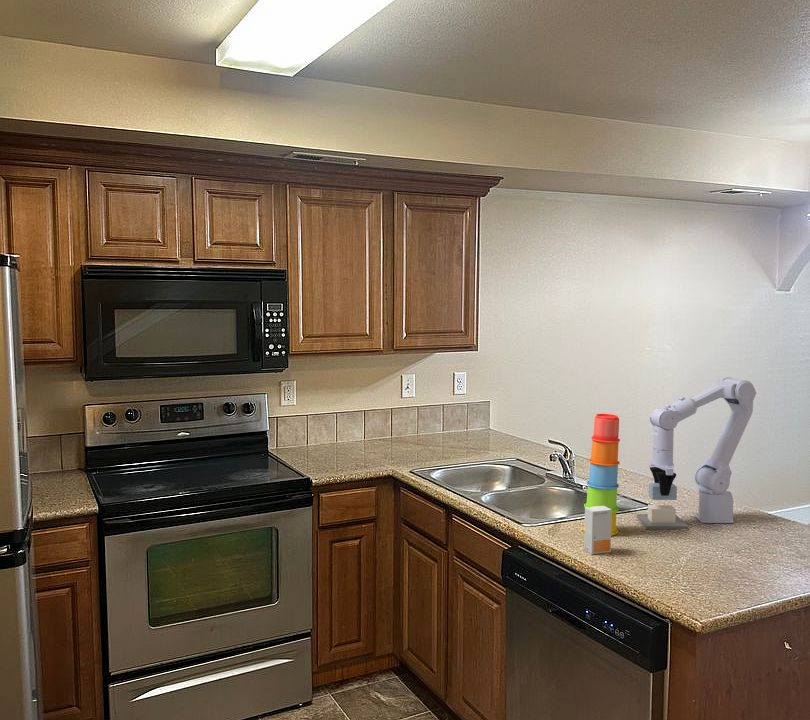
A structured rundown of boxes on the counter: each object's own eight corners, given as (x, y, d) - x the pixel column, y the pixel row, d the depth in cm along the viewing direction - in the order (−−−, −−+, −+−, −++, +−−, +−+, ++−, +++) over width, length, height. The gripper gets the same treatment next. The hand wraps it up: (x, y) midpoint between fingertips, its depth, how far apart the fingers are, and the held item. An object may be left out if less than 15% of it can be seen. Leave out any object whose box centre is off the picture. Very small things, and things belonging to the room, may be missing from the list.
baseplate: (675, 517, 237) (675, 514, 237) (687, 529, 225) (688, 526, 225) (636, 517, 238) (636, 514, 238) (646, 529, 226) (646, 526, 226)
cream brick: (671, 517, 233) (671, 505, 233) (675, 522, 229) (675, 509, 229) (647, 517, 234) (647, 505, 233) (651, 522, 229) (651, 509, 229)
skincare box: (591, 555, 205) (592, 511, 204) (583, 550, 209) (584, 507, 208) (611, 552, 207) (612, 509, 206) (603, 547, 211) (603, 505, 210)
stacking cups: (593, 523, 232) (594, 410, 229) (624, 531, 225) (626, 414, 222) (575, 531, 224) (576, 415, 221) (606, 539, 217) (608, 419, 214)
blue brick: (672, 495, 233) (672, 483, 232) (676, 499, 228) (676, 486, 228) (648, 495, 233) (648, 483, 233) (652, 499, 229) (652, 486, 228)
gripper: (643, 443, 237) (642, 486, 238) (656, 453, 222) (655, 499, 223) (666, 443, 236) (665, 486, 238) (681, 453, 222) (680, 499, 223)
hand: (662, 493), depth 230 cm, fingers closed on blue brick, 4 cm apart
